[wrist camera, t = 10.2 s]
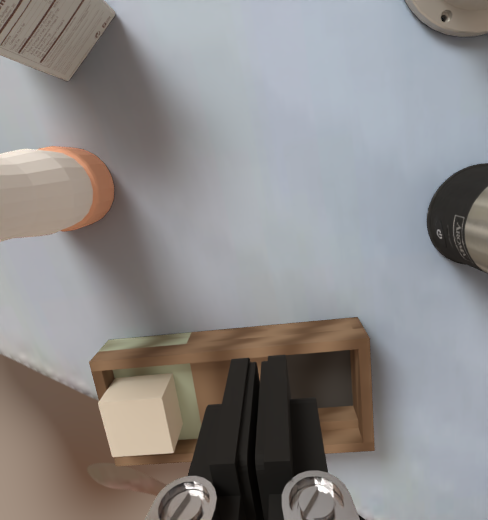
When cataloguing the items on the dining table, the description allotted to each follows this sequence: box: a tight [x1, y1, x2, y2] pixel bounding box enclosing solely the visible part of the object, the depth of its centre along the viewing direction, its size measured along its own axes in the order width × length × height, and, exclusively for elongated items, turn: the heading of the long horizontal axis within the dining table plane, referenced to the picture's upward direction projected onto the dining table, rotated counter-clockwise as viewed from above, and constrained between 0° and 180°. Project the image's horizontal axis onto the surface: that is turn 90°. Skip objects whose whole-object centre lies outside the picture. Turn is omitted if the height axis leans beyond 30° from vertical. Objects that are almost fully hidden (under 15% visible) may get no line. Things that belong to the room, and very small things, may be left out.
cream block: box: [98, 373, 183, 457], centre depth 36 cm, size 6×6×4 cm
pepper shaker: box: [0, 146, 114, 242], centre depth 26 cm, size 7×7×19 cm
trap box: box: [89, 317, 375, 466], centre depth 37 cm, size 26×12×4 cm, turn 97°
